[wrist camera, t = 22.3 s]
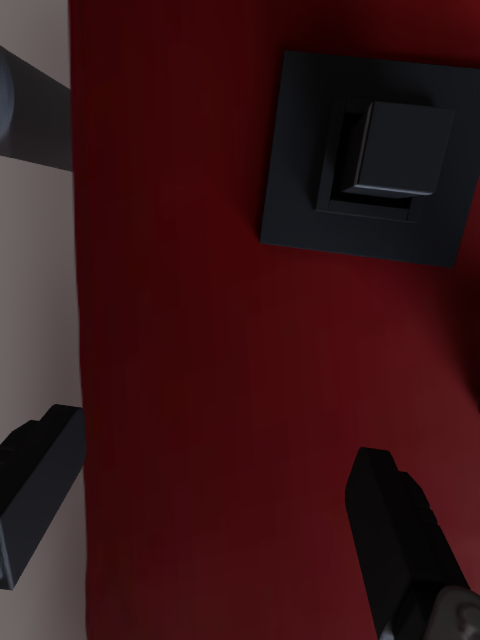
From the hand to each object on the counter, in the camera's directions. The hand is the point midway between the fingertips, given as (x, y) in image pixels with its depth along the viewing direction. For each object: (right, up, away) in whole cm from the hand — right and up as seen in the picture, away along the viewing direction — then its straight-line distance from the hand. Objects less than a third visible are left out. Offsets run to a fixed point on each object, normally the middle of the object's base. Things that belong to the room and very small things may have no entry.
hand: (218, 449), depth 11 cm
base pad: (+12, +17, +21) cm, 29 cm away
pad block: (+12, +17, +20) cm, 28 cm away
